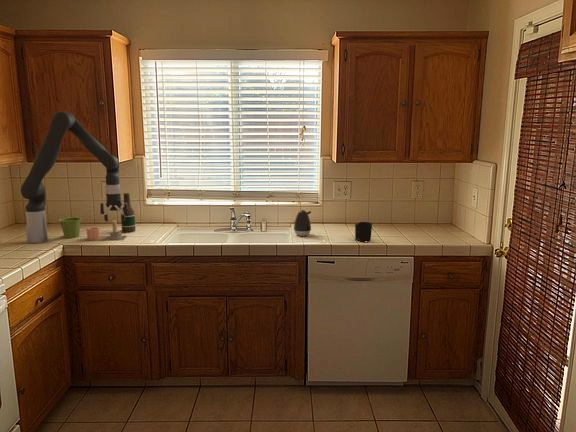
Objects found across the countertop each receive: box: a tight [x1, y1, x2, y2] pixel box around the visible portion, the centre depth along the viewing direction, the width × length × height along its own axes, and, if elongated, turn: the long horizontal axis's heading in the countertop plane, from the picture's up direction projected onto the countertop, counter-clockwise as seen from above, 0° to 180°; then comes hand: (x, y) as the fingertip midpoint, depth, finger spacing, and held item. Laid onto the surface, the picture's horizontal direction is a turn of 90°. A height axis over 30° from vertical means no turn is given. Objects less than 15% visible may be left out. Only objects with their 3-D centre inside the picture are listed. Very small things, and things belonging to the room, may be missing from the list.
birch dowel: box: [111, 219, 118, 234], centre depth 256 cm, size 2×2×10 cm
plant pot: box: [58, 216, 83, 239], centre depth 259 cm, size 12×12×11 cm
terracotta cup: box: [86, 226, 101, 240], centre depth 255 cm, size 6×6×6 cm
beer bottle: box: [120, 192, 136, 234], centre depth 272 cm, size 8×8×24 cm
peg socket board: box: [83, 231, 128, 242], centre depth 256 cm, size 21×11×4 cm, turn 98°
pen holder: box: [354, 221, 373, 243], centre depth 260 cm, size 9×9×10 cm
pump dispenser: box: [293, 209, 312, 237], centre depth 271 cm, size 10×10×15 cm
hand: (114, 221), depth 255 cm, fingers open, 8 cm apart
